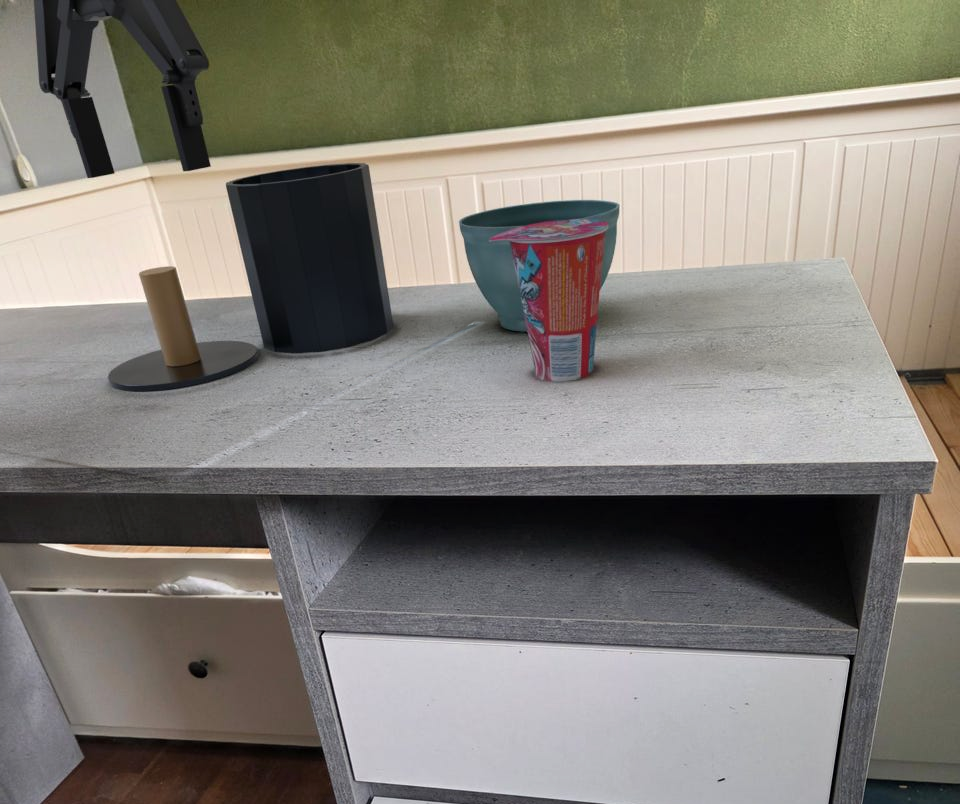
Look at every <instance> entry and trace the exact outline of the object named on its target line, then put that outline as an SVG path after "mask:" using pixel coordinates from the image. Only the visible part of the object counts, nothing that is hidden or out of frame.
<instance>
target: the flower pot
mask: <svg viewBox="0 0 960 804" xmlns="http://www.w3.org/2000/svg"><path fill="white" fill-rule="evenodd" d="M620 207H621V205H620V203H619V202H615V201H611V200H610V201H609V200H600V199H570V200H569V199H568V200H551V201H542V202H531V203H525V204H515V205H510V206H503V207H497V208H492V209H488V210H484V211H480V212H476V213H473V214H469V215H467V216H464V217H462V218H460V219H459V220H458V226H459V231H460V234H461V236H462V238H463V245H464V251H465V255H466V259H467V263H468V266H469V269H470V272H471V275H472V277H473V279H474V282H475V284H476V286H477V287H478V290H479V291H480V293H481V294H482V296H483V298H484V299H485V300H486V302H487V303H488V304H489V305H490V307H491V308H492V309H493V310H494V311H495V312H496V313H497V316H498V320H499V324H500V326H501V327H502V328H504V329H505V330H508V331H515V332H522V333H523V332H524V333H526V332H527V333H528V331H527V326H526V321H525V316H524V311H523V306H522V301H521V296H520V291H519V286H518V281H517V276H516V271H515V266H514V261H513V256H512V251H511V246H510V241H509V240H496V241H489V240H490V238H492V237H493V236H495V235H498V234H500V233H503V232H506V231H509V230H512V229H515V228H518V227H522V226H526V225H530V224H536V223H542V222H549V221H558V220H572V219H596V220H603V221H606V222H608V229H607V230H606V232H605V242H604V253H603V263H602V273H601V283H600V291H601V290H602V287H604V284H605V282H606V280H607V278H608V274H609V272H610V269H611V267H612V263H613V260H614V256H615V250H616V246H617V236H618V235H617V234H618V221H619V220H618V219H619V216H620Z"/></svg>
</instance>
